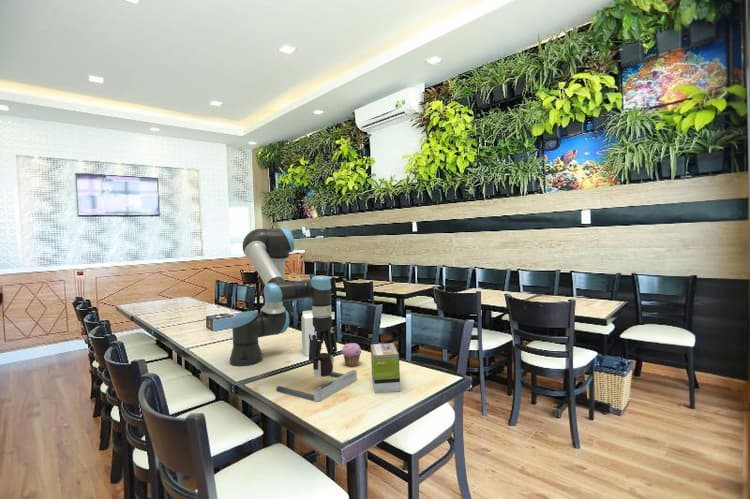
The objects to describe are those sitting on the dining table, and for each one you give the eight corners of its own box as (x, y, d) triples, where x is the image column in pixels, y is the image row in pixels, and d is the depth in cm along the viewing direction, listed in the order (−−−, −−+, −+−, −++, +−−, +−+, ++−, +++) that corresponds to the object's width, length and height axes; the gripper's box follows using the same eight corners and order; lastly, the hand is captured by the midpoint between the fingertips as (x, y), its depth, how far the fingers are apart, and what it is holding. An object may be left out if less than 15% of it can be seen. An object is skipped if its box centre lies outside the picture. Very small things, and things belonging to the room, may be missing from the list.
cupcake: (338, 365, 181) (337, 343, 180) (352, 360, 187) (351, 339, 187) (351, 369, 175) (351, 347, 174) (365, 364, 181) (364, 342, 181)
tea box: (371, 379, 162) (370, 343, 162) (395, 377, 163) (394, 342, 163) (374, 393, 147) (373, 354, 147) (400, 392, 148) (399, 353, 148)
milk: (302, 353, 201) (300, 310, 200) (313, 351, 204) (312, 309, 203) (305, 356, 195) (304, 312, 195) (317, 354, 198) (315, 310, 197)
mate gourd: (312, 373, 156) (311, 348, 156) (330, 370, 159) (329, 345, 159) (317, 379, 150) (316, 353, 149) (336, 376, 153) (335, 350, 152)
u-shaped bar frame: (276, 391, 152) (276, 380, 152) (317, 372, 172) (316, 363, 172) (318, 402, 141) (318, 391, 141) (356, 380, 161) (356, 370, 161)
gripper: (312, 321, 143) (314, 384, 144) (345, 312, 160) (346, 368, 161) (297, 320, 147) (299, 380, 148) (330, 310, 164) (332, 365, 165)
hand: (324, 374), depth 155 cm, fingers closed on mate gourd, 7 cm apart
